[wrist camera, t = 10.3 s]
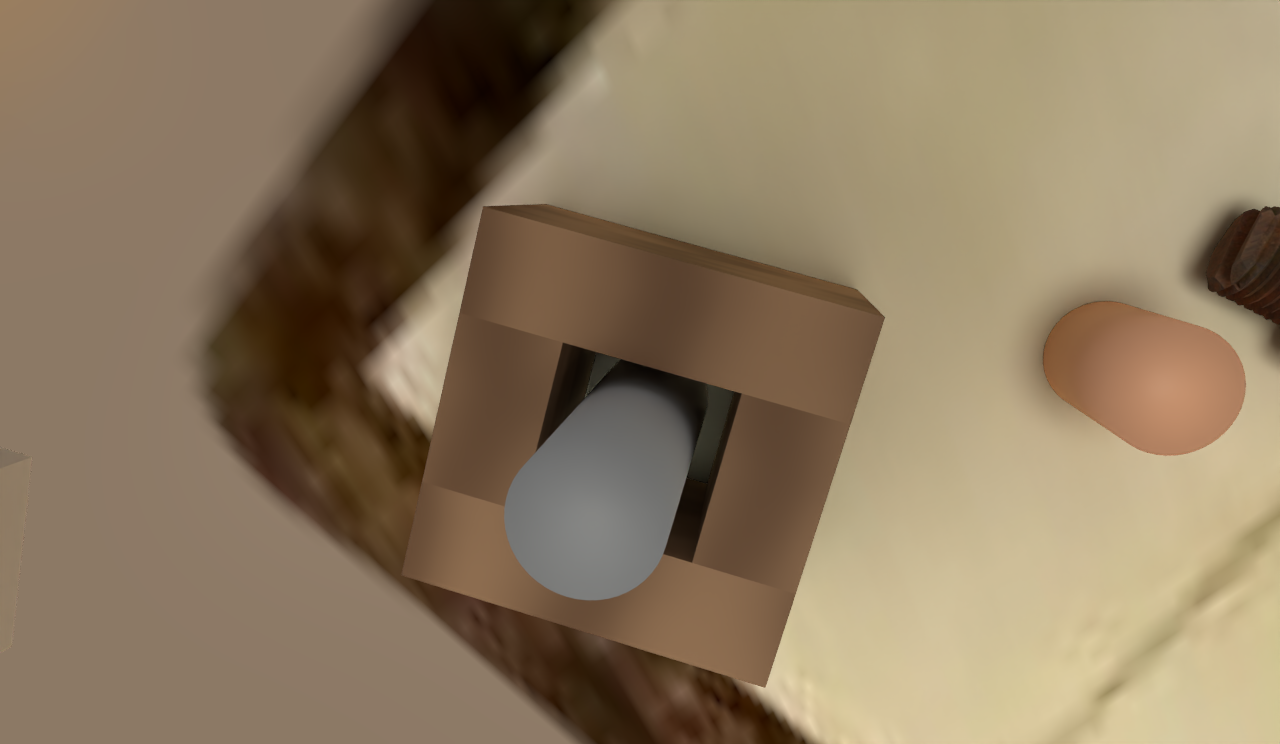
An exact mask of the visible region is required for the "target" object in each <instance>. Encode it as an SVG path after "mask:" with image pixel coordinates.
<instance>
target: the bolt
mask: <svg viewBox="0 0 1280 744" xmlns="http://www.w3.org/2000/svg"><path fill="white" fill-rule="evenodd" d="M1206 276H1207V279H1208V289H1209V290H1210V291H1212V292H1217V294H1218V295H1219V296H1222V297H1224V296H1226V298H1227V299H1229V300H1231V301H1235V302H1236V303H1237V304H1238V305H1244V307H1245V308H1246V309H1249V310H1253V311H1254V313H1256V314H1259V315H1263V316H1264V318H1265V319H1271V320H1272V322H1274V323H1276V324H1279V325H1280V207H1272V208H1270V207H1269V208H1268V207H1267V206H1266V207H1264V208H1263V209H1262V210H1261V211H1258V210H1256V209H1252V210H1249V211H1246V212H1244V213H1243V214H1241V215H1240V216H1239V217H1238V218H1236V219H1235V220H1234V222H1233V223H1232V224H1231V226H1230V227H1229V229H1228V230H1227V232H1226V233H1225V234H1224V236H1223V237H1222V239H1221V240H1220V242H1219V243H1218V245H1217V246H1216V248H1215V250H1214V251H1213V253H1212V255H1211V257H1210V261H1209V264H1208V268H1207V272H1206Z"/></svg>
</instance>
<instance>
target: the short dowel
mask: <svg viewBox="0 0 1280 744" xmlns="http://www.w3.org/2000/svg"><path fill="white" fill-rule="evenodd" d="M1043 365H1044V371H1045V375H1046V378H1047V380H1048V382H1049V384H1050V386H1051V387H1052V389H1053V390H1054V391H1055V392H1056V393H1057V395H1059V396H1060V397H1061V398H1062V399H1063V400H1065V401H1066V402H1068V403H1069V404H1071V405H1072V406H1074V407H1075V408H1077V409H1078V410H1079V411H1081V412H1082V413H1084V414H1085V415H1087V416H1088V417H1090V418H1091V419H1093V420H1094V421H1096V422H1097V423H1099V424H1100V425H1102V426H1103V427H1105V428H1106V429H1108V430H1109V431H1111V432H1112V433H1114V434H1115V435H1116V436H1118V437H1119V438H1121V439H1122V440H1124V441H1125V442H1127V443H1128V444H1130V445H1131V446H1133V447H1135V448H1137V449H1139V450H1142V451H1145V452H1147V453H1152V454H1156V455H1180V454H1186V453H1190V452H1193V451H1196V450H1199V449H1201V448H1203V447H1205V446H1207V445H1209V444H1211V443H1212V442H1214V441H1215V440H1217V439H1218V438H1219V437H1220V436H1221V435H1223V434H1224V433H1225V432H1226V431H1227V430H1228V428H1229V427H1230V426H1231V425H1232V424H1233V422H1234V421H1235V419H1236V418H1237V416H1238V414H1239V412H1240V410H1241V407H1242V404H1243V401H1244V396H1245V388H1246V381H1245V373H1244V369H1243V366H1242V363H1241V361H1240V358H1239V357H1238V355H1237V353H1236V352H1235V350H1234V349H1233V348H1232V347H1231V345H1230V344H1229V343H1228V342H1227V341H1225V340H1224V339H1223V338H1222V337H1220V336H1219V335H1218V334H1216V333H1214V332H1212V331H1210V330H1208V329H1206V328H1203V327H1200V326H1197V325H1193V324H1190V323H1187V322H1183V321H1180V320H1176V319H1173V318H1170V317H1166V316H1163V315H1160V314H1156V313H1153V312H1150V311H1146V310H1143V309H1139V308H1136V307H1133V306H1129V305H1126V304H1123V303H1118V302H1112V301H1099V302H1093V303H1089V304H1085V305H1083V306H1080V307H1078V308H1076V309H1074V310H1072V311H1071V312H1069V313H1068V314H1067V315H1065V316H1064V317H1063V318H1062V319H1061V320H1060V321H1059V322H1058V323H1057V324H1056V325H1055V327H1054V328H1053V329H1052V331H1051V333H1050V334H1049V336H1048V339H1047V341H1046V344H1045V348H1044V354H1043Z"/></svg>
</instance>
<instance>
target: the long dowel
mask: <svg viewBox="0 0 1280 744" xmlns="http://www.w3.org/2000/svg"><path fill="white" fill-rule="evenodd" d="M707 405H708V392H707V386H706V383H703V382H700V381H696V380H693V379H689V378H686V377H682V376H679V375H675V374H672V373H668V372H665V371H661V370H658V369H654V368H651V367H647V366H644V365H640V364H637V363H633V362H630V361H626V360H623V359H620V360H619V361H618V362H617V363H616V365H615V366H614V367H613V368H612V369H611V370H610V371H609V372H608V373H607V374H606V375H605V377H604V378H603V379H602V380H601V381H600V382H599V383H598V384H597V385H596V386H595V388H594V389H593V390H592V391H591V392H590V393H589V394H588V395H587V396H586V397H585V399H584V400H583V401H582V402H581V403H580V404H579V405H578V406H577V407H576V408H575V410H574V411H573V412H572V413H571V414H570V415H569V416H568V417H567V418H566V419H565V421H564V422H563V423H562V424H561V425H560V426H559V427H558V428H557V429H556V430H555V432H554V433H553V434H552V435H551V436H550V437H549V438H548V439H547V440H546V441H545V443H544V444H543V445H542V446H541V447H540V448H539V449H538V450H537V451H536V452H535V454H534V455H533V456H532V457H531V458H530V459H529V460H528V461H527V462H526V463H525V465H524V466H523V467H522V468H521V469H520V470H519V472H518V473H517V475H516V476H515V478H514V479H513V481H512V484H511V486H510V488H509V491H508V494H507V497H506V502H505V508H504V522H505V530H506V534H507V539H508V541H509V544H510V547H511V549H512V551H513V553H514V555H515V557H516V559H517V560H518V561H519V563H520V564H521V566H522V567H523V568H524V569H525V570H526V572H527V573H528V574H529V575H530V576H531V577H533V578H534V579H535V580H536V581H537V582H538V583H540V584H541V585H543V586H544V587H546V588H548V589H549V590H551V591H553V592H555V593H558V594H560V595H563V596H566V597H570V598H574V599H579V600H603V599H609V598H613V597H617V596H619V595H622V594H624V593H627V592H629V591H630V590H632V589H634V588H635V587H637V586H638V585H640V584H641V583H642V582H643V581H645V580H646V579H647V577H648V576H649V575H650V574H651V573H652V572H653V571H654V569H655V568H656V566H657V565H658V563H659V561H660V560H661V558H662V556H663V553H664V550H665V547H666V544H667V541H668V538H669V534H670V531H671V528H672V524H673V521H674V518H675V514H676V511H677V507H678V504H679V501H680V497H681V494H682V491H683V487H684V484H685V481H686V477H687V474H688V471H689V467H690V464H691V461H692V457H693V454H694V450H695V447H696V444H697V440H698V437H699V434H700V430H701V427H702V424H703V420H704V417H705V414H706V410H707Z"/></svg>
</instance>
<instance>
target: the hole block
mask: <svg viewBox="0 0 1280 744" xmlns="http://www.w3.org/2000/svg"><path fill="white" fill-rule="evenodd" d="M884 319H885V317H884V316H883V315H882V314H881V313H880V312H879V311H878V310H877V309H876V308H875V307H874V306H873V305H872V304H871V303H870V302H869V301H868V300H867V299H866V298H865V297H864V296H863V295H862V294H861V293H860V292H859V291H858V290H857V289H853V288H849V287H846V286H842V285H838V284H835V283H831V282H827V281H824V280H820V279H816V278H813V277H809V276H805V275H802V274H798V273H795V272H791V271H787V270H784V269H780V268H776V267H773V266H769V265H765V264H762V263H758V262H754V261H751V260H747V259H743V258H740V257H736V256H733V255H729V254H725V253H722V252H718V251H714V250H711V249H707V248H703V247H700V246H696V245H692V244H689V243H685V242H681V241H678V240H674V239H671V238H667V237H663V236H660V235H656V234H652V233H649V232H645V231H641V230H638V229H634V228H630V227H627V226H623V225H619V224H616V223H612V222H609V221H605V220H601V219H598V218H594V217H590V216H587V215H583V214H579V213H576V212H572V211H568V210H565V209H561V208H557V207H554V206H550V205H547V204H537V205H510V206H483V210H482V214H481V219H480V223H479V228H478V232H477V237H476V241H475V246H474V250H473V255H472V259H471V264H470V268H469V273H468V277H467V282H466V286H465V291H464V295H463V300H462V304H461V309H460V313H459V318H458V322H457V327H456V331H455V336H454V340H453V345H452V349H451V354H450V358H449V363H448V367H447V372H446V376H445V381H444V385H443V390H442V394H441V399H440V403H439V408H438V412H437V417H436V421H435V426H434V430H433V435H432V439H431V444H430V448H429V453H428V457H427V462H426V466H425V471H424V475H423V480H422V484H421V489H420V493H419V498H418V502H417V507H416V511H415V516H414V520H413V525H412V529H411V534H410V538H409V543H408V547H407V552H406V556H405V561H404V565H403V570H402V574H401V575H402V576H406V577H409V578H412V579H415V580H419V581H422V582H425V583H428V584H432V585H435V586H438V587H441V588H444V589H448V590H451V591H454V592H457V593H461V594H464V595H467V596H470V597H474V598H477V599H480V600H483V601H486V602H490V603H493V604H496V605H499V606H503V607H506V608H509V609H512V610H516V611H519V612H522V613H525V614H529V615H532V616H535V617H538V618H541V619H545V620H548V621H551V622H554V623H558V624H561V625H564V626H567V627H571V628H574V629H577V630H580V631H584V632H587V633H590V634H593V635H596V636H600V637H603V638H606V639H609V640H613V641H616V642H619V643H622V644H626V645H629V646H632V647H635V648H638V649H642V650H645V651H648V652H651V653H655V654H658V655H661V656H664V657H668V658H671V659H674V660H677V661H681V662H684V663H687V664H690V665H693V666H697V667H700V668H703V669H706V670H710V671H713V672H716V673H719V674H723V675H726V676H729V677H732V678H736V679H739V680H742V681H745V682H748V683H752V684H755V685H758V686H761V687H766V684H767V681H768V678H769V674H770V671H771V668H772V665H773V662H774V659H775V656H776V653H777V650H778V647H779V644H780V640H781V637H782V634H783V631H784V628H785V625H786V622H787V619H788V616H789V613H790V609H791V606H792V603H793V600H794V597H795V594H796V591H797V588H798V585H799V582H800V579H801V575H802V572H803V569H804V566H805V563H806V560H807V557H808V554H809V551H810V548H811V545H812V541H813V538H814V535H815V532H816V529H817V526H818V523H819V520H820V517H821V514H822V510H823V507H824V504H825V501H826V498H827V495H828V492H829V489H830V486H831V483H832V480H833V476H834V473H835V470H836V467H837V464H838V461H839V458H840V455H841V452H842V449H843V445H844V442H845V439H846V436H847V433H848V430H849V427H850V424H851V421H852V418H853V415H854V411H855V408H856V405H857V402H858V399H859V396H860V393H861V390H862V387H863V384H864V380H865V377H866V374H867V371H868V368H869V365H870V362H871V359H872V356H873V353H874V350H875V346H876V343H877V340H878V337H879V334H880V331H881V328H882V325H883V322H884ZM596 352H598V353H602V354H605V355H609V356H612V357H616V358H619V359H623V360H626V361H630V362H633V363H637V364H640V365H644V366H647V367H651V368H654V369H658V370H661V371H665V372H668V373H672V374H675V375H679V376H682V377H686V378H689V379H693V380H696V381H700V382H703V383H707V384H710V385H714V386H717V387H721V388H724V389H728V390H731V391H734V395H733V398H732V401H731V405H730V408H729V412H728V415H727V419H726V422H725V425H724V429H723V432H722V436H721V439H720V442H719V446H718V449H717V453H716V456H715V460H714V463H713V466H712V470H711V473H710V477H709V480H708V483H707V484H706V483H702V482H699V481H695V480H692V479H689V478H686V481H685V484H684V487H683V491H682V494H681V497H680V501H679V504H678V507H677V511H676V514H675V518H674V521H673V524H672V528H671V531H670V534H669V538H668V541H667V544H666V547H665V550H664V553H663V556H662V558H661V560H660V561H659V563H658V565H657V566H656V568H655V569H654V571H653V572H652V573H651V574H650V575H649V576H648V577H647V579H646V580H645V581H643V582H642V583H641V584H640V585H638V586H637V587H635V588H634V589H632V590H630V591H629V592H627V593H624V594H622V595H619V596H617V597H613V598H609V599H603V600H579V599H574V598H570V597H566V596H563V595H560V594H558V593H555V592H553V591H551V590H549V589H548V588H546V587H544V586H543V585H541V584H540V583H538V582H537V581H536V580H535V579H534V578H533V577H531V576H530V575H529V574H528V573H527V572H526V570H525V569H524V568H523V567H522V566H521V564H520V563H519V561H518V560H517V559H516V557H515V555H514V553H513V551H512V549H511V547H510V544H509V541H508V539H507V534H506V530H505V522H504V508H505V502H506V497H507V494H508V491H509V488H510V486H511V484H512V481H513V479H514V478H515V476H516V475H517V473H518V472H519V470H520V469H521V468H522V467H523V466H524V465H525V463H526V462H527V461H528V460H529V459H530V458H531V457H532V456H533V455H534V454H535V452H536V451H537V450H538V449H539V448H540V447H541V446H542V445H543V444H544V443H545V441H546V440H547V439H548V438H549V437H550V436H551V435H552V434H553V433H554V432H555V430H556V429H557V428H558V427H559V426H560V425H561V424H562V423H563V422H564V421H565V419H566V418H567V417H568V416H569V415H570V414H571V413H572V412H573V411H574V410H575V408H576V407H577V406H578V405H579V404H580V403H581V402H582V401H583V400H584V397H585V393H586V390H587V386H588V382H589V378H590V374H591V370H592V366H593V362H594V358H595V354H596Z"/></svg>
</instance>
